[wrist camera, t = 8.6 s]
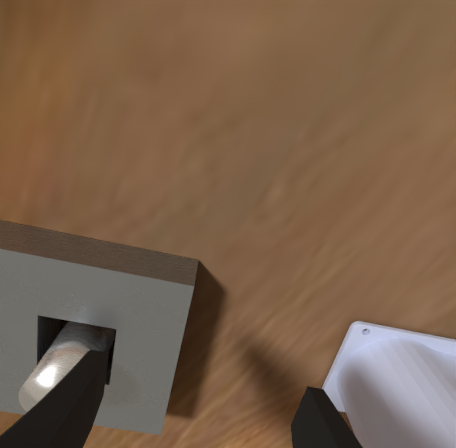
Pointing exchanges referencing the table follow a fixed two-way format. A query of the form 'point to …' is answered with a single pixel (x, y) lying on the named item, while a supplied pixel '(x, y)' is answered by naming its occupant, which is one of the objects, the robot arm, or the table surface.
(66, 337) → the metal cylinder
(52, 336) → the square hole block
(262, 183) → the table surface
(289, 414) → the table surface
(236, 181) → the table surface
